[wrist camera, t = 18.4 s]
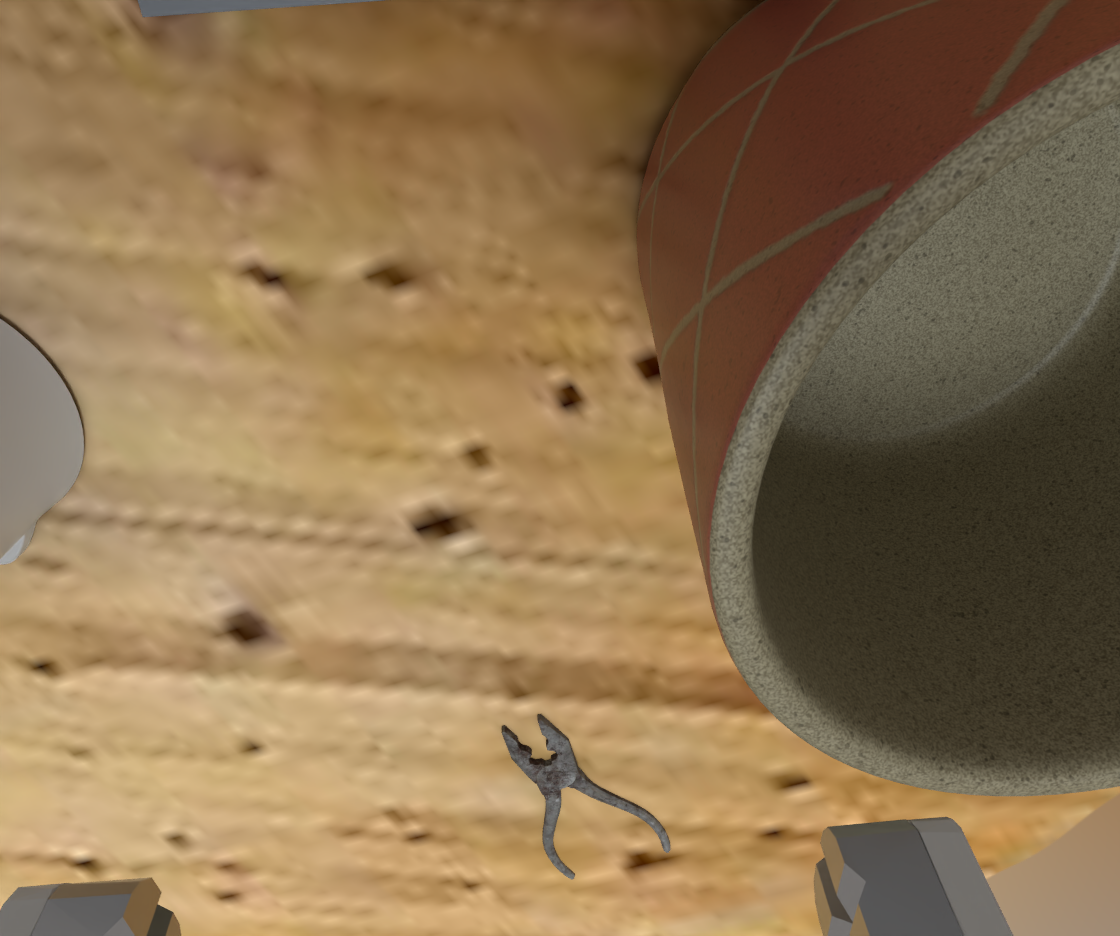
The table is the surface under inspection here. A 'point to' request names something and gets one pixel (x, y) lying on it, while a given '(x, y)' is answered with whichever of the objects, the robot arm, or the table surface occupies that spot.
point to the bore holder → (223, 5)
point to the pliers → (566, 785)
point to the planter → (904, 377)
